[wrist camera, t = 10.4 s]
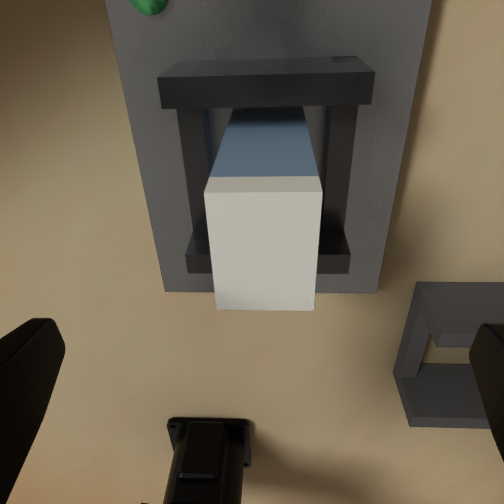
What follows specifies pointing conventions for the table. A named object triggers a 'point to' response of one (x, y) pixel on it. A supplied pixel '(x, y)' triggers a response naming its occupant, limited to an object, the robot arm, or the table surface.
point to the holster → (445, 335)
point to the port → (267, 99)
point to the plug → (264, 213)
